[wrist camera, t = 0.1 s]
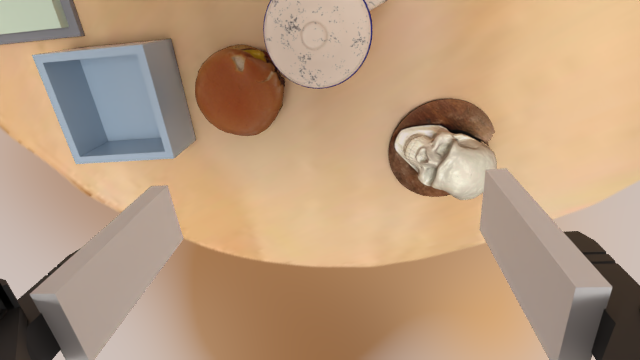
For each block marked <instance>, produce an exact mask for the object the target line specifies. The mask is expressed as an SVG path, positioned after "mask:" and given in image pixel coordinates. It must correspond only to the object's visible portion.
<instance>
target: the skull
mask: <svg viewBox="0 0 640 360" xmlns="http://www.w3.org/2000/svg"><path fill="white" fill-rule="evenodd" d="M494 133H495V131H494V128H493V125H492V123H491V121H490V119H489V118H488V117H487V115H486V114H485V113H484V112H483V111H482V110H481V109H479V108H478V107H476V106H475V105H473V104H471V103H469V102H466V101H462V100H457V99H442V100H436V101H433V102H429V103H427V104H424V105H422V106H419V107H418V108H417V109H415V110H414V111H412V112H411V113H410V114H409V115H407V116H406V117H405V118H404V119H403V120H402V122H401V123H400V124H399V125H398V127H397V128H396V130H395V132H394V134H393V136H392V139H391V142H390V146H389V161H390V166H391V169H392V171H393V173H394V175H395V177H396V178H397V179H398V181H399V182H400V183H401V184H402V185H403V186H404V187H406V188H407V189H409V190H411V191H413V192H415V193H417V194H420V195H423V196H424V195H425V196H429V197H430V196H432V197H434V196H435V197H437V196H438V197H439V196H447V195H452V196H453V197H455V198H457V199H460V200H467V199H473V198H475V197H477V196H479V195H480V194H481V193H483V191H484V181H485V171H486V170H488V169H496V166H497V161H496V157H495V154H494V153H493V151H492V150H491V149H490V148H489V147H487V146H486V145H484V144H483V143H481V141H483V142H484V143H485V144H487V145H488V141H489V140H491V138H492V137H493V135H492V134H494ZM443 193H444V194H443Z"/></svg>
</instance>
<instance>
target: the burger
mask: <svg viewBox="0 0 640 360" xmlns="http://www.w3.org/2000/svg"><path fill="white" fill-rule="evenodd" d="M284 83H285V81H284V79H283V78H282V77H280V75H279V72H278V69H277V68H276V66H275V65H274V63H273V62H272V60H271V58H270V56H269V54H268V53H267V52H265V51H262V50H258V49H257V48H253V47H251V46H247V45H235V46H230V47H227V48H225V49H222V50H220V51H218V52H216V53H214V54H213V55H211V56H210V57H209V58H208V59H207V60H206V61H205V62H204V63H203V64H202V66H201V68H200V70H199V71H198V76H197V79H196V84H195V95H196V100H197V104H198V106H199V108H200V110H201V111H202V113H203V114H204V116H205V117H206V119H207V120H208V121H209V122H210V123H212V124H213V125H214V126H215V127H217V128H218V129H220V130H222V131H224V132H227V133H233V134H236V135H243V136H250V135H257V134H259V133H261V132H263V131H264V130H266V129H267V128H268V127H269V126H270V125H271V123H272V122H273V121H274V120H275V118H276V116H277V114H278V112H279V110H280V109H281V107H282V101H283V93H284V86H285V85H284Z"/></svg>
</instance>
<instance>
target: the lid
mask: <svg viewBox="0 0 640 360" xmlns="http://www.w3.org/2000/svg"><path fill="white" fill-rule="evenodd" d="M65 27H69V25H68V22H67V19H66V16H65V13H64V11H63V8H62V5H61V2H60V0H0V34H10V33H19V32H28V31H37V30H47V29H56V28H65Z"/></svg>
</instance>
